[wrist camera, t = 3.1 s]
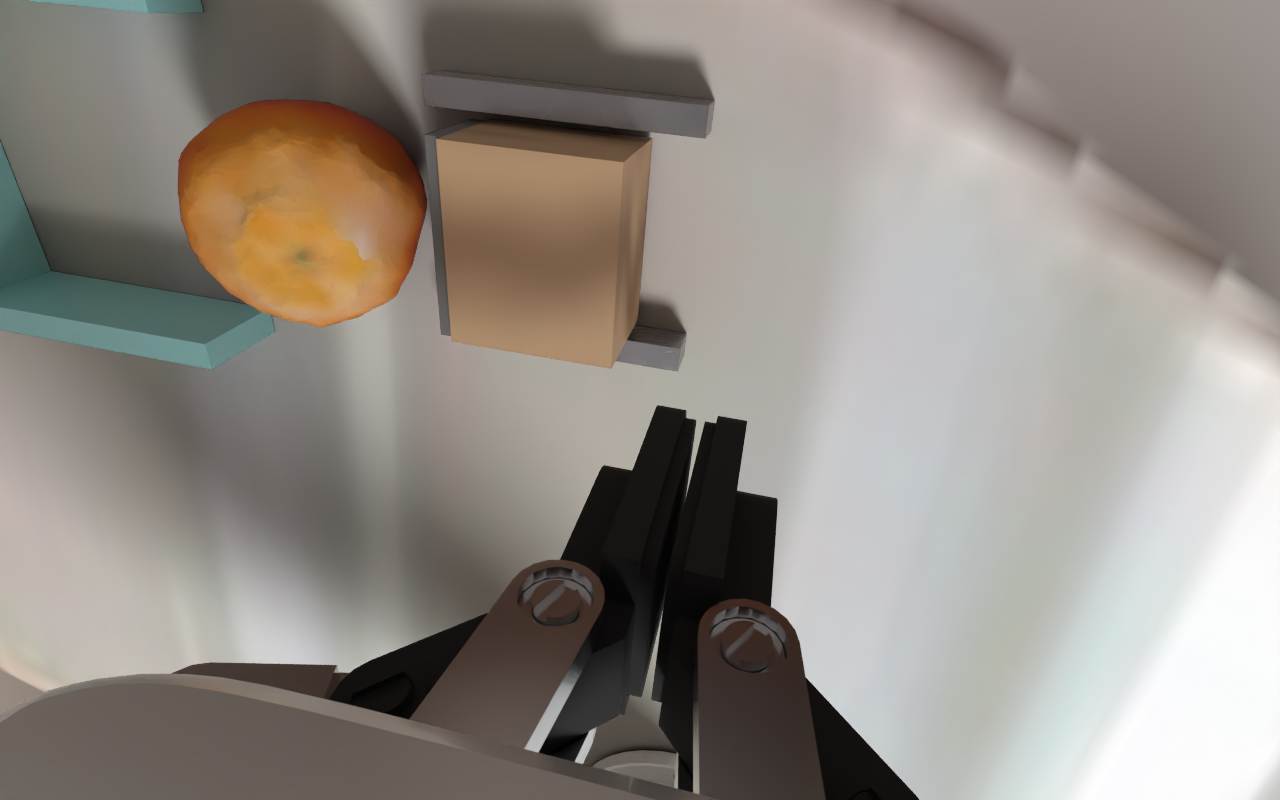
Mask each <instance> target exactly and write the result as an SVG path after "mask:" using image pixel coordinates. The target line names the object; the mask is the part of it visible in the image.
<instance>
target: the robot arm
mask: <svg viewBox="0 0 1280 800" xmlns="http://www.w3.org/2000/svg"><path fill="white" fill-rule="evenodd" d="M746 425H747V421H744V420H738V419H732V418H727V417H721V416H718V418H717V423H710V422H705V424H704V428H703V432H702V436H701V440H700V444H699V448H698V452H697V456H696V460H695V464H694V468H693V472H692V476H691V480H690V484H689V488H688V492H687V485H688V477H689V470H690V463H691V456H692V449H693V442H694V434H695V427H696V420H694V419H688V418H686V410H681V409H676V408H670V407H664V406H659V405H658V406H657V407H656V409H655V412H654V415H653V417H652V420H651V423H650V425H649V428H648V431H647V433H646V436H645V438H644V441H643V444H642V446H641V449H640V452H639V454H638V457H637V460H636V462H635V465H634V468H633V470H632V471H631V470H626V469H621V468H615V467H610V466H605V465H604V466H603V467H602V468H601V470H600V472H599V474H598V476H597V478H596V480H595V483H594V485H593V487H592V489H591V492H590V494H589V496H588V498H587V501H586V503H585V505H584V507H583V510H582V512H581V514H580V516H579V519H578V521H577V523H576V525H575V528H574V530H573V532H572V534H571V537H570V539H569V541H568V543H567V546H566V548H565V550H564V552H563V555H562V557H561V559H560V560H547V561H543V562H539V563H535V564H533V565H531V566H529V567H528V568H526V569H524V570H522V571H521V572H520V573H519V574H518V575H517V576H516V577H515V578H514V579H513V580H512V581H511V583H510V584H509V585H508V587H507V588H506V590H505V591H504V592H503V594H502V595H501V596H500V598H499V599H498V600H497V602H496V603H495V604H494V606H493V607H492V608H491V610H490V611H489V612H488V613H486V614H484V615H481V616H479V617H476V618H474V619H471V620H469V621H467V622H464V623H462V624H459V625H457V626H454V627H452V628H449V629H447V630H444V631H442V632H439V633H437V634H435V635H432V636H430V637H427V638H425V639H422V640H420V641H417V642H415V643H412V644H410V645H408V646H405V647H403V648H400V649H398V650H395V651H393V652H390V653H388V654H385V655H383V656H380V657H378V658H376V659H373V660H371V661H369V662H367V663H365V664H363V665H361V666H359V667H358V668H356V669H354V670H353V671H352V672H350V673H339V672H338V668H337V665H303V664H256V663H203V664H196V665H191V666H188V667H186V668H183V669H181V670H178V671H176V672H173V673H172V674H136V675H127V676H118V677H109V678H101V679H95V680H90V681H85V682H80V683H75V684H71V685H67V686H64V687H60V688H56V689H52V690H49V691H46V692H44V693H41V694H39V695H36V696H34V697H32V698H29V699H26V700H24V701H22V702H21V703H19V704H17V705H15V706H13V707H12V708H10V709H8V710H6V711H5V712H3V713H1V714H0V800H919V799H918V797H917V796H916V795H915V794H914V793H913V792H912V791H911V790H910V789H909V788H908V786H907V785H906V784H905V783H904V782H903V781H902V780H901V779H900V778H899V777H898V776H897V775H896V774H895V773H894V771H893V770H892V769H891V768H890V767H889V766H888V765H887V764H886V763H885V762H884V761H883V760H882V759H881V758H880V757H879V755H878V754H877V753H876V752H875V751H874V750H873V749H872V748H871V747H870V746H869V745H868V744H867V743H866V742H865V740H864V739H863V738H862V737H861V736H860V735H859V734H858V733H857V732H856V731H855V730H854V729H853V728H852V727H851V725H850V724H849V723H848V722H847V721H846V720H845V719H844V718H843V717H842V716H841V715H840V714H839V713H838V712H837V710H836V709H835V708H834V707H833V706H832V705H831V704H830V703H829V702H828V701H827V700H826V699H825V698H824V697H823V695H822V694H821V693H820V692H819V691H818V690H817V689H816V688H815V687H814V686H813V685H812V684H811V683H810V682H809V680H808V679H807V678H806V677H805V672H804V666H803V659H802V653H801V647H800V642H799V640H798V637H797V634H796V631H795V629H794V628H793V627H792V625H791V624H790V623H789V621H788V620H787V618H785V617H784V616H783V615H782V614H780V613H779V612H778V611H777V610H775V609H774V608H772V607H771V596H772V581H773V565H774V550H775V535H776V520H777V502H778V501H777V498H771V497H766V496H761V495H756V494H751V493H745V492H740V491H737V485H738V479H739V472H740V465H741V459H742V452H743V445H744V439H745V432H746ZM686 492H687V496H686ZM685 499H686V500H685ZM662 611H663V615H662ZM661 615H662V622H661V630H660V637H659V645H658V653H657V660H656V668H655V675H654V683H653V691H652V700H654V701H658V702H662V705H661V712H660V719H659V726H660V728H661V729H662V731H663V732H664V734H665V735H666V737H667V738H668V739H669V741H670V742H671V744H672V745H673V747H674V748H675V750H676V751H677V754H676V753H670V752H664V751H649V750H639V751H628V752H623V753H619V754H615V755H611V756H609V757H607V758H605V759H602V760H600V761H598V762H597V763H596V764H595V765H593V766H588V765H584V764H583V763H584V760H585V758H586V756H587V754H588V752H589V750H590V748H591V745H592V743H593V740H594V737H595V733H596V727H598V726H600V725H601V724H603V723H605V722H607V721H609V720H611V719H613V718H614V717H616V716H618V715H619V714H622V715H624V714H625V710H626V706H627V702H628V699H629V695H633V696H637V697H641V696H642V693H643V689H644V685H645V681H646V677H647V673H648V669H649V665H650V660H651V656H652V652H653V648H654V644H655V640H656V636H657V632H658V627H659V623H660V619H661Z"/></svg>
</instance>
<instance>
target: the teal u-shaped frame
mask: <svg viewBox="0 0 1280 800" xmlns="http://www.w3.org/2000/svg"><path fill="white" fill-rule="evenodd" d="M28 1H38V2H47V3H57V4H67V5H76V6H86V7H96V8H106V9H115V10H125V11H135V12H144V13H196V12H203V8H202V4H201V0H28ZM0 330H3V331H9V332H14V333H19V334H25V335H30V336H35V337H41V338H46V339H51V340H57V341H62V342H67V343H73V344H78V345H83V346H89V347H94V348H99V349H105V350H110V351H115V352H121V353H126V354H131V355H137V356H142V357H147V358H153V359H158V360H163V361H169V362H174V363H179V364H185V365H190V366H195V367H201V368H206V369H211V370H212V369H214V368H216V367H217V366H219V365H220V364H222V363H224V362H225V361H227V360H229V359H230V358H232V357H234V356H235V355H237V354H239V353H240V352H242V351H244V350H245V349H247V348H249V347H250V346H252V345H253V344H255V343H257V342H258V341H260V340H262V339H263V338H265V337H267V336H268V335H270V334H272V333H273V332H275V330H274V326H273V321H272V317H271V315H270V314H267V313H264V312H261V311H259V310H257V309H256V308H254V307H253V306H251V305H248V304H242V303H236V302H230V301H224V300H219V299H213V298H207V297H201V296H195V295H189V294H183V293H177V292H172V291H166V290H160V289H154V288H148V287H142V286H136V285H130V284H125V283H119V282H113V281H107V280H101V279H95V278H89V277H83V276H78V275H72V274H66V273H60V272H54V271H51V270H50V267H49V265H48V262H47V259H46V257H45V254H44V252H43V249H42V247H41V244H40V242H39V239H38V236H37V234H36V231H35V229H34V226H33V224H32V221H31V219H30V216H29V213H28V211H27V208H26V206H25V203H24V201H23V198H22V196H21V193H20V191H19V188H18V185H17V183H16V180H15V178H14V175H13V173H12V170H11V168H10V165H9V162H8V160H7V157H6V155H5V152H4V150H3V147H2V145H1V142H0Z"/></svg>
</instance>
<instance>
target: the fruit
mask: <svg viewBox="0 0 1280 800" xmlns="http://www.w3.org/2000/svg"><path fill="white" fill-rule="evenodd" d="M178 196H179V204H180V214H181V220H182V223H183V226H184V229H185V231H186V234H187V237H188V240H189V243H190V247H191V248H192V250H193V251H194V252H195V253H196V255H197V256H198V260H199V262H200V263H201V264H202V265H203V266H204V267H205V269H206V270H207V271H208V272H209V273H210V274H211V275H212V276H213V277H214V278H215V279H217V281H218V282H219V283H220V284H221V285H222V286H223V287H224V288H225V289H226V290H227V291H228V292H229V293H230V294H232V295H234V296H236V297H237V298H239V299H241V300H242V301H243V302H245V303H246V304H248V305H251V306H253V307H254V308H256V309H257V310H259V311H261V312H264V313H267V314H270V315H272V316H275V317H280V318H282V319H284V320H286V321H293V322H298V323H308V324H311V325H314V326H317V327H324V326H328V325H331V324H336V323H339V322H342V321H344V320H350V319H353V318H357V317H359V316H361V315H363V314H364V313H366V312H368V311H370V310H372V309H374V308H376V307H378V306H380V305H383V304H384V303H386V302H388V301H389V300H391V299H392V298H394V297H395V296H396V295H397V293H398V291H399V289H400V287H401V285H402V283H403V281H404V280H405V278H406V276H407V274H408V273H409V271H410V269H411V267H412V265H413V261H414V257H415V253H416V249H417V245H418V241H419V237H420V233H421V229H422V226H423V223H424V219H425V215H426V210H427V198H426V193H425V188H424V183H423V180H422V178H421V176H420V174H419V171H418V169H417V168H416V166H415V165H414V163H413V162H412V160H411V159H410V157H409V155H408V154H407V152H406V150H405V148H404V147H403V145H402V144H401V143H400V142H399V141H398V140H397V139H396V138H395V137H394V136H393V135H392V134H390V133H389V132H388V131H386V130H385V129H383V128H382V127H380V126H379V125H377V124H376V123H374V122H373V121H371V120H369V119H367V118H365V117H363V116H361V115H359V114H357V113H355V112H353V111H350V110H348V109H345V108H343V107H340V106H337V105H334V104H331V103H326V102H318V101H307V100H265V101H257V102H252V103H249V104H246V105H244V106H241V107H239V108H237V109H235V110H232V111H230V112H228V113H226V114H224V115H222V116H220V117H219V118H217V119H216V120H215V121H213V122H212V123H211V124H210V125H208V126H207V127H206V128H205V129H204V130H202V131H201V132H200V133H199V134H198V135H196V136H195V137H194V138H193V139H192V140H191V141H190V142H189V143H188V145H187V146H186V147H185V149H184V150H183V152H182V153H181V156H180V159H179V169H178Z"/></svg>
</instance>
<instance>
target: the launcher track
mask: <svg viewBox="0 0 1280 800" xmlns="http://www.w3.org/2000/svg"><path fill="white" fill-rule="evenodd" d="M422 81H423V93H424V105H425V106H434V107H442V108H451V109H459V110H468V111H476V112H485V113H493V114H502V115H510V116H519V117H527V118H536V119H544V120H553V121H561V122H570V123H578V124H587V125H595V126H604V127H612V128H621V129H629V130H638V131H646V132H655V133H663V134H672V135H680V136H689V137H697V138H706V137H707V136H708V135H709V133H710V132H711V127H712V119H713V111H714V102H715V100H706V99H697V98H688V97H678V96H669V95H660V94H651V93H642V92H633V91H623V90H614V89H605V88H596V87H587V86H578V85H569V84H559V83H550V82H541V81H532V80H523V79H514V78H505V77H495V76H486V75H477V74H468V73H459V72H450V71H437V72H431V73H425V74H422ZM685 341H686V333H680V332H674V331H668V330H662V329H655V328H649V327H643V326H637V325H635V326H634V328H633V330H632V331H631V333H630V335H629V337H628V339H627V341H626V342H625V344H624V346H623V348H622V350H621V351H620V353H619V355H618V357H617V359H616V361H618V362H624V363H630V364H636V365H642V366H648V367H654V368H660V369H665V370H671V371H677V372H678V370H679V367H680V364H681V361H682V359H683V356H684V349H685Z"/></svg>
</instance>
